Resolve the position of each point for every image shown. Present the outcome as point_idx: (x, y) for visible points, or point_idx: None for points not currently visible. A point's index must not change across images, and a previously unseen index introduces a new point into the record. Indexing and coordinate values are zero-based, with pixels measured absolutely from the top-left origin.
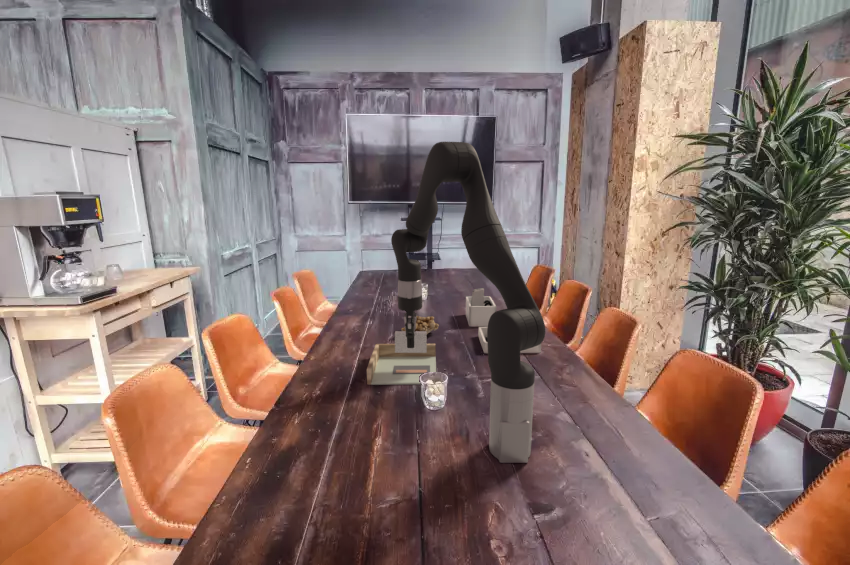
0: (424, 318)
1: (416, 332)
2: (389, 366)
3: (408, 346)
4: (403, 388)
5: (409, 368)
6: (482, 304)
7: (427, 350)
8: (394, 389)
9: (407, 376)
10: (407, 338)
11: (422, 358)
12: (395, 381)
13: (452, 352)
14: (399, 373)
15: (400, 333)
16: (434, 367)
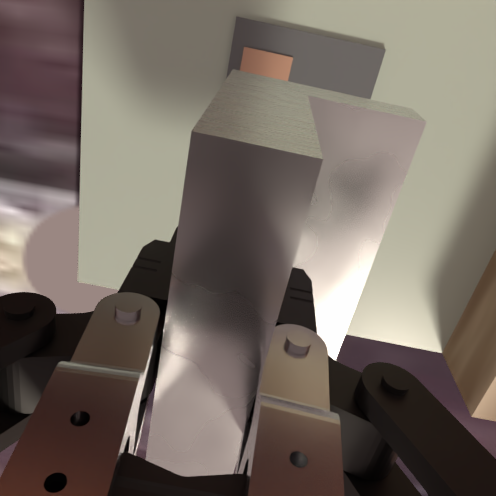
0: None
1: (186, 443)
2: (392, 4)
3: (148, 243)
4: (31, 74)
5: None
6: None
7: (481, 339)
8: (15, 4)
9: (176, 129)
10: (151, 289)
11: (445, 276)
12: (105, 25)
13: (478, 436)
14: (227, 75)
15: (178, 235)
16: None
